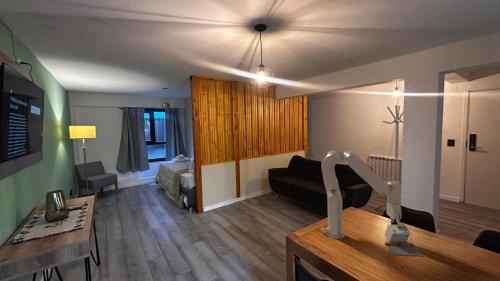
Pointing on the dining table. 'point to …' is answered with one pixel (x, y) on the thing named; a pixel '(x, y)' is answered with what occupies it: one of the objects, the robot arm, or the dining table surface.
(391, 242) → the rail
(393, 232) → the light bulb box
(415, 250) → the mat
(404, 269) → the dining table surface
